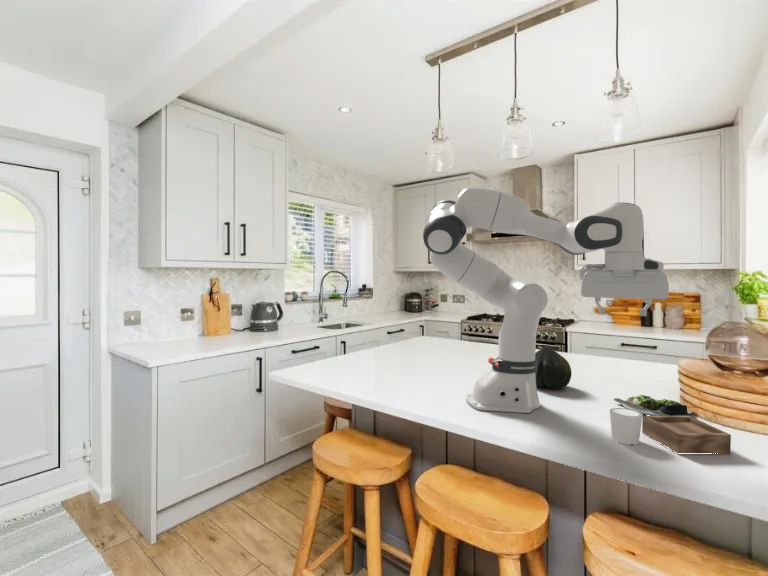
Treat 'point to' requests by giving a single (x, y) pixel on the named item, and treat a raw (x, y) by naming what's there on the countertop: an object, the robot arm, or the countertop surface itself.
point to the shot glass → (625, 425)
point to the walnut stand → (686, 434)
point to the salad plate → (654, 406)
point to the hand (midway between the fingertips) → (621, 315)
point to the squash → (552, 369)
